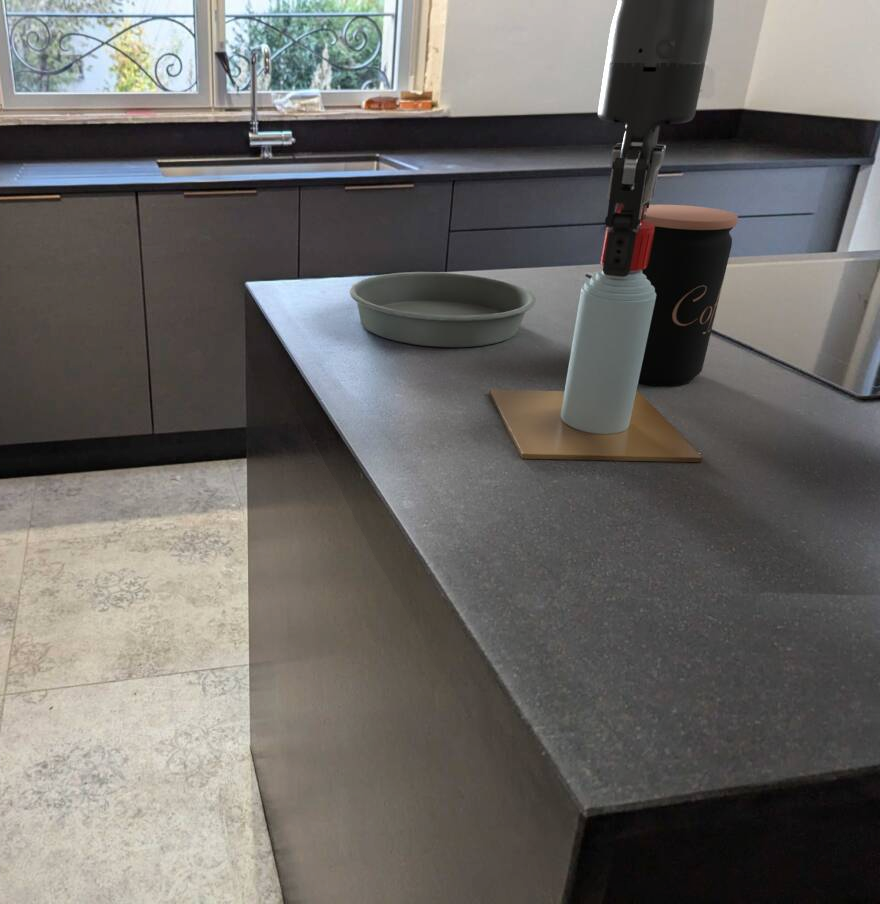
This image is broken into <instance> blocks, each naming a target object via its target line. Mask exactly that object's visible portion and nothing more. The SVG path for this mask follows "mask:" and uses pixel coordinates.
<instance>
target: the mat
mask: <svg viewBox="0 0 880 904" xmlns="http://www.w3.org/2000/svg"><path fill="white" fill-rule="evenodd" d="M564 392H565V390H521V389H520V390H518V389H517V390H516V389H489V390H488V395H489V396H490V399H491V400H492V403H493V404H494V405H493V406H495V408H496V410H497V413H498V414H499V417H500V418H501V420H502V422H503V425H504V426H505V428H506V430H507V432H508V434H509V436H510V438H511V440H512V443H513V444H514V446H515V448H516V449H517V452H518V454H519V456H520V457H521V459H522V460H524V459H525V460H526V459H527V460H528V459H529V460H570V461H571V460H572V461H574V460H575V461H577V460H578V461H617V462H618V461H621V462H623V461H624V462H669V463H673V462H674V463H676V462H677V463H702V462H703V456H702V455H701V454H700V453H699V452H698V451H697V450H696V449H695V448H694V447H693V446H692V445H691V444H690V443H689V442H688V441H687V440H686V439H685V438H684V437H683V435H682V434H680V433H679V432H678V431H677V429H675V428H674V426H673V425H672V424H671V423H670V422H669V421H668V420H667V419H666V418H665V417H664V416H663V415H662V414H661V413H660V412H659V411H658V410H657V408H655V407H654V406H653V405H652V403H651V402H649V400H648V399H646V397H645V396H644V395H643V394H642V393H641V392H638V391H636V395H635V400H634V404H633V409H632V414H631V419H630V424H629V427H628V428H627V429H626V430H624V431H622V432H619V433H614V434H596V433H589V432H585V431H581V430H578V429H575V428H573V427H571V426H569V425H567V424H566V423H565V422H563V420H562V419H561V410H562V404H563V398H564Z"/></svg>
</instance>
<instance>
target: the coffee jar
mask: <svg viewBox="0 0 880 904" xmlns="http://www.w3.org/2000/svg"><path fill="white" fill-rule="evenodd" d="M645 213H647V215H646V219H644V221H647V222H651V223H653V224H655V229H654V231H655V232H654V237H653V242H652V247H651V251H650V256H649V261H648V264H647V267H646V268H645V269H643V270H642V274H644V275H646V277H647V278H646V279H647V280H649V281H650V282H651V285H652V286H653V287H654V288H655V293H656V300H655V304H654V309H653V314H652V319H651V324H650V328H649V333H648V338H647V343H646V347H645V352H644V357H643V362H642V366H641V371H640V376H639V381H638V384H642V385H643V384H644V385H648V386H649V385H650V386H659V387H660V386H661V387H673V386H682V385H686V384H689V383H690V382H692V381H693V380H694V379H695V378H696V377H697V376H699V375H700V374H701V373H702V371H703V367H704V363H705V359H706V355H707V351H708V347H709V343H710V338H711V334H712V331H713V330H712V329H713V325H714V321H715V318H716V313H717V309H718V304H719V300H720V296H721V294H722V293H721V292H722V288H723V284H724V279H725V276H726V271H727V267H728V263H729V258H730V255H731V250H732V247H733V237H732V236H731V234H730V232H731V231H732V230H733V228H735V227H736V226H737V223H738V220H739V215H738V214H736V213H734V212H731V211H728V210H724V209H719V208H713V207H705V206H697V205H682V204H649V208H647V211H646V212H645Z"/></svg>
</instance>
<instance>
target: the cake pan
mask: <svg viewBox="0 0 880 904" xmlns="http://www.w3.org/2000/svg"><path fill="white" fill-rule="evenodd" d="M348 293H349V295H350V297H351V298H352V300H353V301H354V302H356V304H357V305H356V306H357V310H358V315H359V316H358V317H359V322H360V324H361V325H362V327H363V328H364V329H365V330H367V331H368V332H370V333H372V334H374V335H376V336H379V337H381V338H384V339H387V340H391V341H395V342H399V343H403V344H409V345H416V346H422V347H434V348H472V347H482V346H489V345H494V344H497V343H501V342H505V341H507V340H509V339H511V338H513V337H514V336H515V335H516V334H517V333H518V332H519V330H520V327H521V325H522V322H523V320H524V316H525V314H526V312H528V311H530V310H531V309H532V308H534V306H535V304H536V301H537V299H536V295H534V293H532V292H531V291H530V290H528V289H526V288H525V287H523V286H521V285H519V284H516V283H513V282H510V281H506V280H502V279H497V278H492V277H489V276H488V277H487V276H481V275H476V274H475V275H474V274H465V273H457V272H441V271H440V272H439V271H438V272H437V271H411V272H407V271H406V272H396V273H395V272H394V273H387V274H379V275H374V276H371V277H370V276H369V277H367V278H364V279H361V280H358V281H357V282H355V283H354V284H353V285H351V287H350V288H349V292H348Z"/></svg>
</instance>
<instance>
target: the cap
mask: <svg viewBox="0 0 880 904" xmlns="http://www.w3.org/2000/svg"><path fill="white" fill-rule="evenodd" d="M640 223H641V228H640V229H639V230H638V233H637V235H636V241H635V246H634V252H633V257H632V263H631V269H630V271H638V270H643V269H645V268H646V267H647V264H648V261H649V256H650V251H651V247H652V242H653V237H654V232H655V231H654V229H655V224H653V223H651V222H647V221H643V220H641V222H640ZM607 229H608V227H606V228H605V231H604V235H603V236H604V237H603V243H602V248H601V254H600V260H599V261H600V265H601V266H602V267H603V265H604V259H605V253H606V247H607V241H608V235H609V231H607Z"/></svg>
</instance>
